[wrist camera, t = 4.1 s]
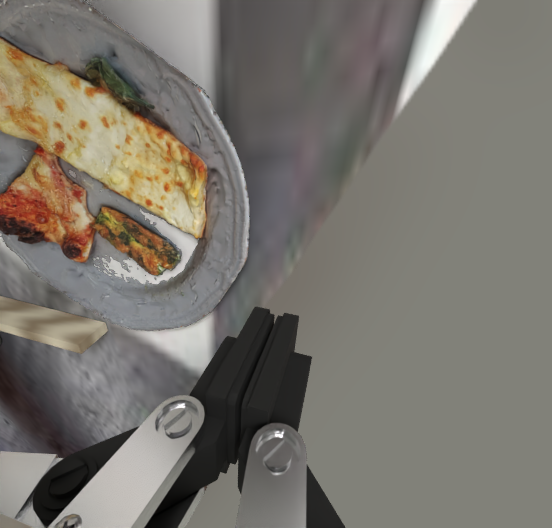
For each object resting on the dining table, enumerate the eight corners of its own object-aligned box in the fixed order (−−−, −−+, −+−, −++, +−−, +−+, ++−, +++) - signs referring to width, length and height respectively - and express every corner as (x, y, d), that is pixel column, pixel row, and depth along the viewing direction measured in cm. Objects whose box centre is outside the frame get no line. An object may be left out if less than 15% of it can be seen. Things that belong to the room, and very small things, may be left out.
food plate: (-26, 215, 28) (-71, 228, 25) (-31, -93, 16) (-117, -140, 13) (187, 349, 30) (169, 376, 27) (316, 161, 19) (309, 170, 16)
